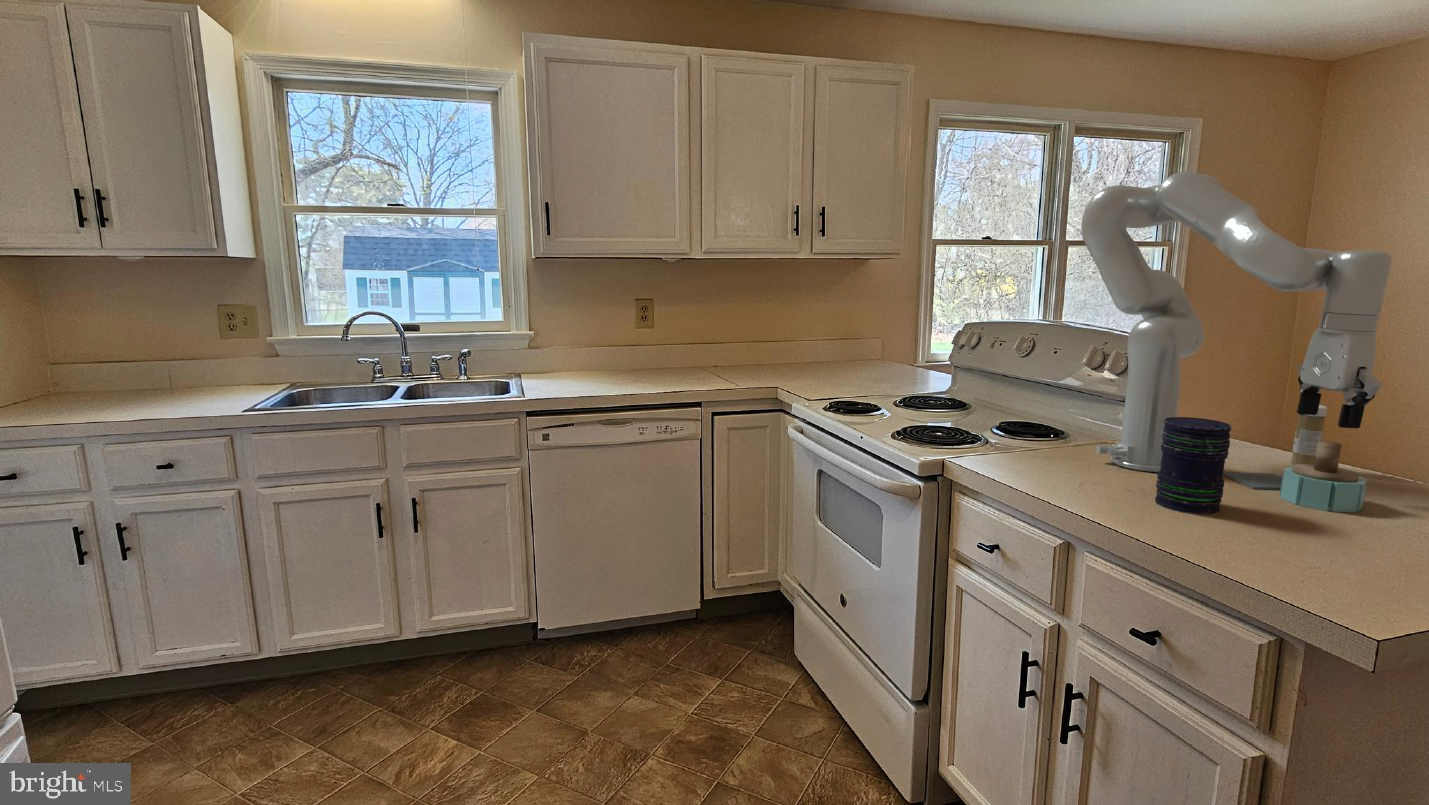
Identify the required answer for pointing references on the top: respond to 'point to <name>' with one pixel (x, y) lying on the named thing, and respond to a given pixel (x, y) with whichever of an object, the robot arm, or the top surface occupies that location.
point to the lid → (1326, 465)
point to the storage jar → (1192, 465)
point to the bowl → (1322, 492)
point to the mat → (1256, 480)
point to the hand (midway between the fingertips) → (1326, 420)
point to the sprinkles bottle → (1308, 437)
